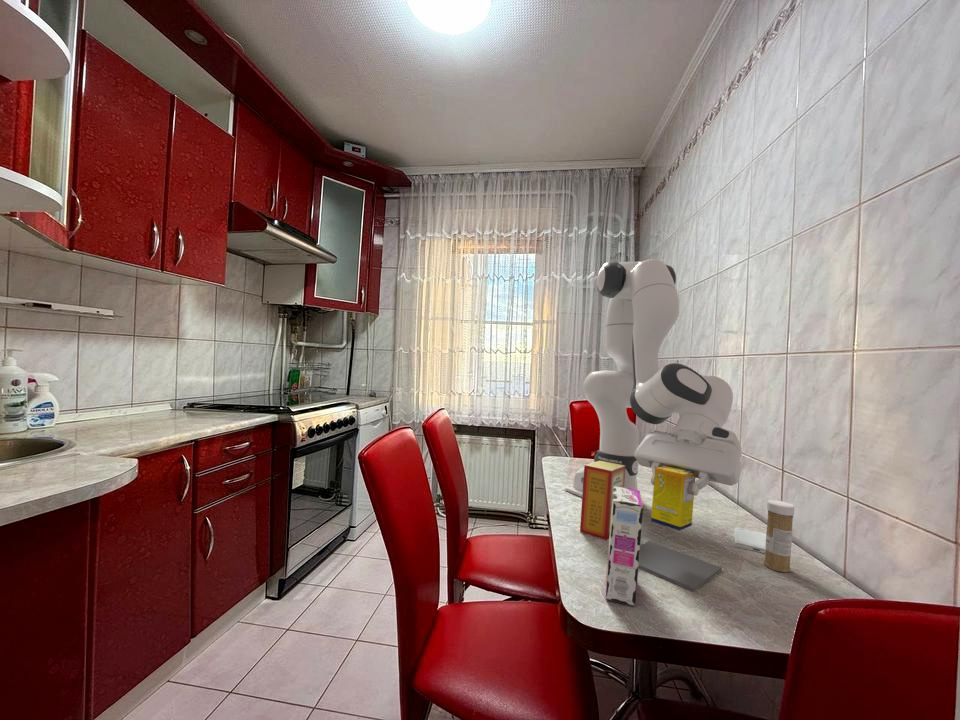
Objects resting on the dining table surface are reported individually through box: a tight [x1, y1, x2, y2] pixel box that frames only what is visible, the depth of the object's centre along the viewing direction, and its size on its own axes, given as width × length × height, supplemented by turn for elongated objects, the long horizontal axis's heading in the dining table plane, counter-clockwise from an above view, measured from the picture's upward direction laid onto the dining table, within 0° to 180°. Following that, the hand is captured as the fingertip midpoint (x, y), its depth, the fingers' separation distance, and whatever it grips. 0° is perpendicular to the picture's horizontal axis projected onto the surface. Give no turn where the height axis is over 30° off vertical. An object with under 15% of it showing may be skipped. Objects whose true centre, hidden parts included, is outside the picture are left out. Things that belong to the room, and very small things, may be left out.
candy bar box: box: [605, 486, 644, 607], centre depth 74 cm, size 11×5×16 cm, turn 162°
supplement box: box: [650, 466, 696, 531], centre depth 85 cm, size 6×6×11 cm
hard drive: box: [734, 526, 766, 554], centre depth 100 cm, size 2×8×12 cm
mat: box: [638, 540, 723, 592], centre depth 85 cm, size 15×14×1 cm
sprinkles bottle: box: [763, 499, 795, 573], centre depth 87 cm, size 5×5×14 cm
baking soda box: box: [579, 461, 626, 541], centre depth 101 cm, size 10×6×16 cm
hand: (672, 488), depth 84 cm, fingers closed on supplement box, 6 cm apart
